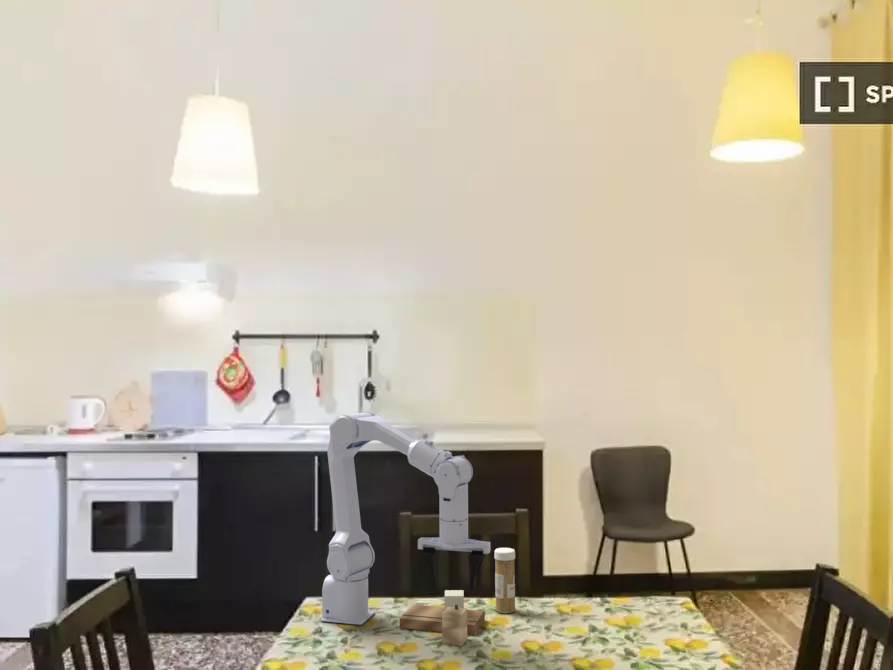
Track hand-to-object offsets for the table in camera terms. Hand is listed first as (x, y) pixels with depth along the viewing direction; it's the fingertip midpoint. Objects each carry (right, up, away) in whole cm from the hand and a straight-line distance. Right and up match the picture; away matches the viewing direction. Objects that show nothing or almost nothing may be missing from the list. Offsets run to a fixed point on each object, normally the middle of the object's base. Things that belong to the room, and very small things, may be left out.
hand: (454, 587), depth 158 cm
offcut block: (0, -9, +10) cm, 13 cm away
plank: (-2, -11, +9) cm, 14 cm away
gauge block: (0, -10, -1) cm, 10 cm away
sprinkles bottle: (+11, -11, +17) cm, 23 cm away
